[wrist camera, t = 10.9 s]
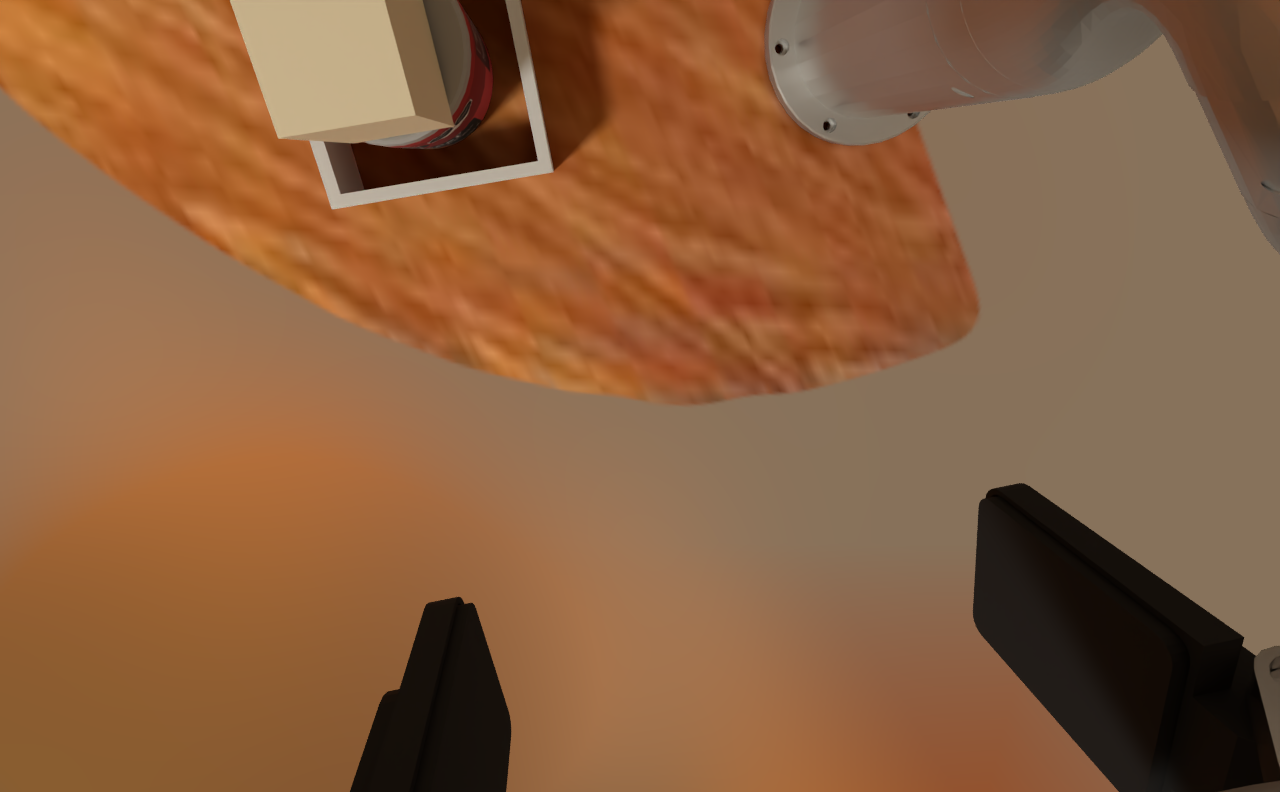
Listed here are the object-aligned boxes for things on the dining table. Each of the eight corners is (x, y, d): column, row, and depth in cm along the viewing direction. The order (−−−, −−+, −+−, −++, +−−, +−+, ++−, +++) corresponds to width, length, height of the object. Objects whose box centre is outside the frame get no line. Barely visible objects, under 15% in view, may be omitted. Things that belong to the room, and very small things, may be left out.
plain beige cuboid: (408, -58, 25) (344, -148, 18) (454, 126, 28) (415, 115, 21) (296, -41, 25) (186, -124, 18) (353, 143, 28) (278, 138, 20)
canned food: (358, 136, 37) (281, 128, 27) (362, -16, 35) (279, -88, 25) (488, 161, 39) (461, 162, 29) (501, 16, 36) (477, -40, 26)
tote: (508, -63, 35) (501, -93, 31) (554, 170, 39) (552, 172, 35) (284, -30, 34) (245, -56, 30) (356, 203, 39) (332, 209, 35)
